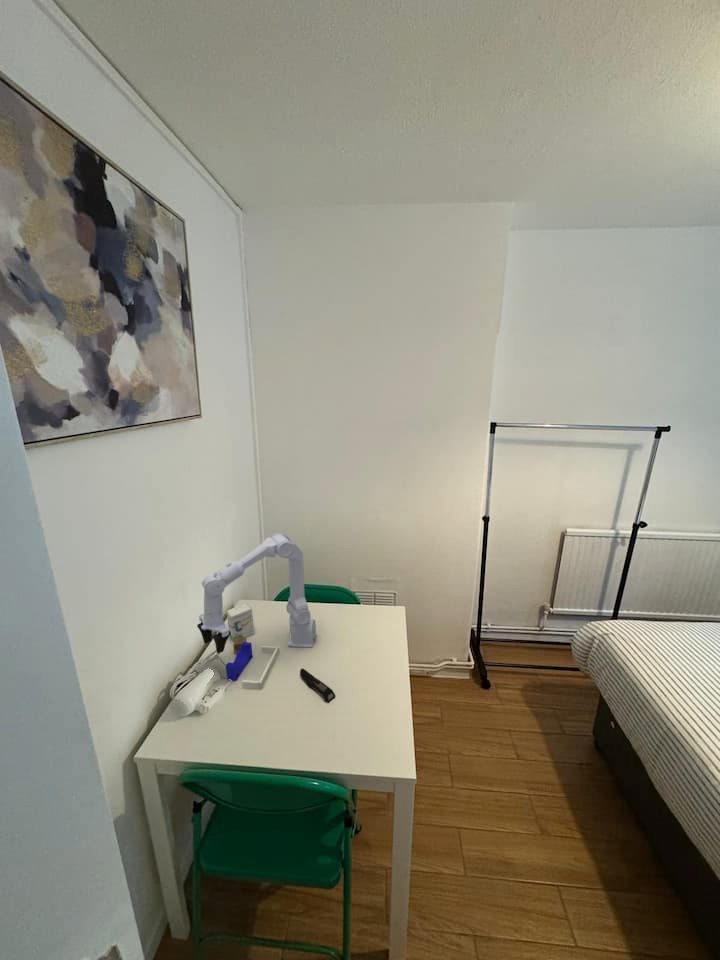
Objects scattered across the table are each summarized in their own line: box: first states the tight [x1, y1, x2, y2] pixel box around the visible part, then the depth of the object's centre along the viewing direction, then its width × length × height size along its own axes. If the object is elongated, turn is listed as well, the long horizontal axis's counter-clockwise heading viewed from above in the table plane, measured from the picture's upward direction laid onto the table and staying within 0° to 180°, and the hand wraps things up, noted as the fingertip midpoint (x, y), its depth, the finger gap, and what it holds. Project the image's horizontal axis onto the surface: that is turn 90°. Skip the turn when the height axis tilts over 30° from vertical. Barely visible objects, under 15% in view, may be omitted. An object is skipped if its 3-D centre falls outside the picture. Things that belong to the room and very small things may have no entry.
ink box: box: [226, 603, 256, 643], centre depth 147 cm, size 9×5×12 cm, turn 129°
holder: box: [241, 645, 280, 690], centre depth 130 cm, size 6×18×2 cm, turn 173°
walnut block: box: [232, 637, 248, 655], centre depth 140 cm, size 4×4×4 cm
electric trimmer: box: [299, 668, 336, 704], centre depth 121 cm, size 4×16×3 cm, turn 45°
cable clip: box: [225, 642, 253, 682], centre depth 130 cm, size 12×4×6 cm, turn 169°
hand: (213, 647), depth 127 cm, fingers open, 7 cm apart
